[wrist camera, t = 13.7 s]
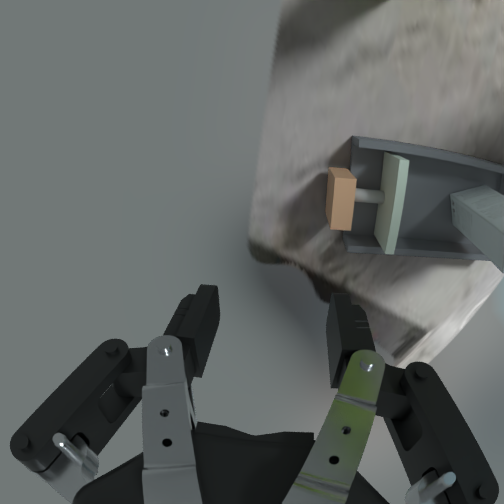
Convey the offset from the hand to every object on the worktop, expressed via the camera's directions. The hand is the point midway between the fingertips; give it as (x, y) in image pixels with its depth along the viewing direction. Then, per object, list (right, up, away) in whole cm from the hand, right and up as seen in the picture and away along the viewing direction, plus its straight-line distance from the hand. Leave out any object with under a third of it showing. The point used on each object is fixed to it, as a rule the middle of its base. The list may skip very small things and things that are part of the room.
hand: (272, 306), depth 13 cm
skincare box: (+26, +8, +16) cm, 31 cm away
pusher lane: (+21, +9, +17) cm, 28 cm away
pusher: (+11, +9, +17) cm, 22 cm away
